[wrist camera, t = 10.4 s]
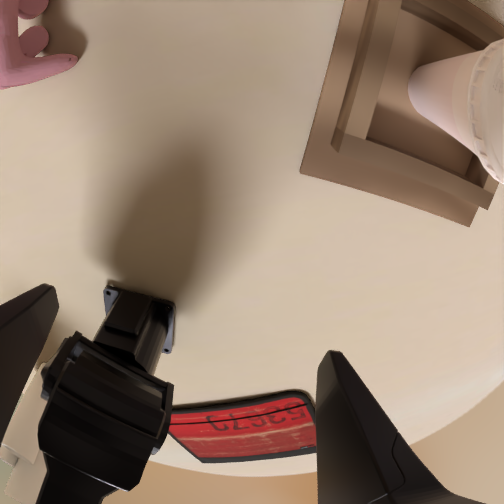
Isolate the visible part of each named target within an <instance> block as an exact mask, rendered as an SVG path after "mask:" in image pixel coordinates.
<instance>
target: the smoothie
mask: <svg viewBox="0 0 504 504" xmlns="http://www.w3.org/2000/svg"><path fill="white" fill-rule="evenodd" d="M408 94H409V98H410V101H411V103H412V105H413V107H414V108H415V109H416V111H417V112H418V113H420V114H421V115H422V116H424V117H425V118H427V119H428V120H430V121H431V122H433V123H434V124H436V125H437V126H439V127H440V128H441V129H443V130H444V131H446V132H447V133H448V134H450V135H451V136H453V137H454V138H455V139H457V140H458V141H459V142H461V143H462V144H463V145H465V146H466V147H467V148H468V149H470V150H471V151H472V152H473V153H474V154H476V155H477V156H478V158H479V159H480V161H481V163H482V165H483V167H484V168H485V169H486V170H487V172H488V173H489V174H490V175H491V176H492V177H493V178H494V179H495V180H497V181H498V182H500V183H502V184H503V185H504V39H501V40H498V41H495V42H492V43H491V44H490V45H489V46H487V47H486V48H485V49H484V50H481V51H477V52H473V53H469V54H464V55H460V56H456V57H452V58H448V59H444V60H440V61H437V62H433V63H429V64H426V65H423V66H420V67H418V68H417V69H416V70H415V71H414V72H413V73H412V75H411V77H410V79H409V83H408Z"/></svg>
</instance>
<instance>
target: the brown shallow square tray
mask: <svg viewBox="0 0 504 504" xmlns="http://www.w3.org/2000/svg"><path fill="white" fill-rule="evenodd" d="M501 39H504V26H503V25H501V24H500V23H499V22H497V21H496V20H495V19H493V18H492V17H491V16H489V15H488V14H486V13H485V12H484V11H482V10H481V9H479V8H478V7H476V6H475V5H473V4H472V3H470V2H469V1H467V0H345V1H344V5H343V9H342V13H341V17H340V21H339V25H338V29H337V33H336V37H335V41H334V45H333V49H332V53H331V57H330V61H329V65H328V68H327V72H326V76H325V80H324V84H323V87H322V91H321V95H320V99H319V102H318V106H317V110H316V113H315V117H314V121H313V124H312V128H311V132H310V135H309V139H308V142H307V146H306V150H305V153H304V157H303V160H302V164H301V167H300V174H304V175H308V176H312V177H316V178H320V179H323V180H327V181H331V182H334V183H338V184H341V185H345V186H348V187H352V188H355V189H359V190H362V191H365V192H369V193H372V194H375V195H378V196H382V197H385V198H388V199H391V200H394V201H397V202H400V203H403V204H406V205H409V206H412V207H415V208H418V209H421V210H424V211H427V212H429V213H432V214H435V215H438V216H441V217H443V218H446V219H449V220H451V221H454V222H457V223H459V224H462V225H465V226H467V227H470V225H471V223H472V221H473V218H474V216H475V214H476V212H477V210H478V207H479V206H480V207H482V208H484V209H486V210H488V208H489V206H490V204H491V201H492V199H493V196H494V194H495V192H496V189H497V187H498V184H499V182H498V181H497V180H495V179H494V178H493V177H492V176H491V175H490V174H489V173H488V172H487V170H486V169H485V168H484V167H483V165H482V163H481V161H480V159H479V158H478V156H477V155H476V154H474V153H473V152H472V151H471V150H470V149H468V148H467V147H466V146H465V145H463V144H462V143H461V142H459V141H458V140H457V139H455V138H454V137H453V136H451V135H450V134H448V133H447V132H446V131H444V130H443V129H441V128H440V127H439V126H437V125H436V124H434V123H433V122H431V121H430V120H428V119H427V118H425V117H424V116H422V115H421V114H420V113H418V112H417V111H416V109H415V108H414V107H413V105H412V103H411V101H410V98H409V94H408V83H409V79H410V77H411V75H412V73H413V72H414V71H415V70H416V69H417V68H418V67H420V66H423V65H426V64H429V63H433V62H437V61H440V60H444V59H448V58H452V57H456V56H460V55H464V54H469V53H473V52H477V51H481V50H484V49H485V48H486V47H487V46H489V45H490V44H491V43H492V42H495V41H498V40H501Z"/></svg>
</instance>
